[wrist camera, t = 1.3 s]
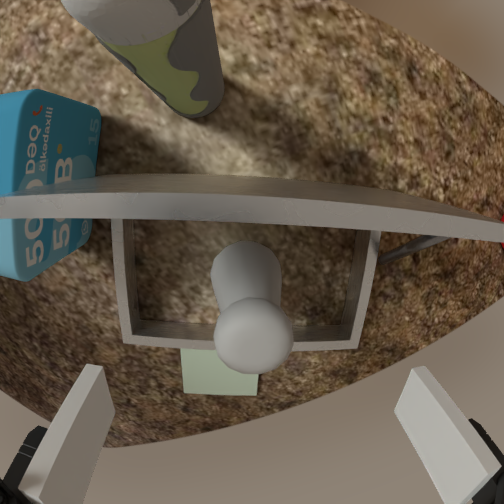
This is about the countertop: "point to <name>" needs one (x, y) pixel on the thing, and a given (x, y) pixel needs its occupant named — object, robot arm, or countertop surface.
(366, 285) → the case
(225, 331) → the salt shaker
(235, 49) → the countertop surface
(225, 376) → the pad
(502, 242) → the beverage can
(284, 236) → the countertop surface
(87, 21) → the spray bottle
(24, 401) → the countertop surface
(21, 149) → the data package
